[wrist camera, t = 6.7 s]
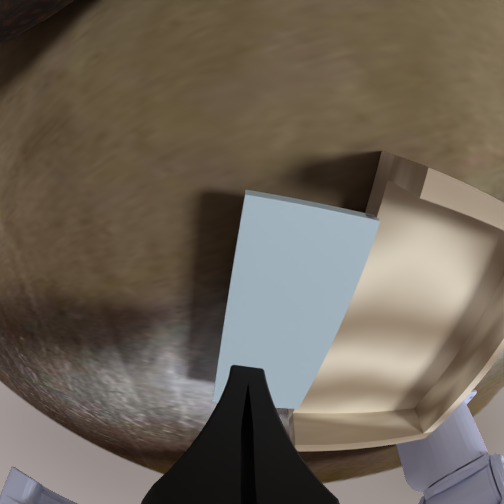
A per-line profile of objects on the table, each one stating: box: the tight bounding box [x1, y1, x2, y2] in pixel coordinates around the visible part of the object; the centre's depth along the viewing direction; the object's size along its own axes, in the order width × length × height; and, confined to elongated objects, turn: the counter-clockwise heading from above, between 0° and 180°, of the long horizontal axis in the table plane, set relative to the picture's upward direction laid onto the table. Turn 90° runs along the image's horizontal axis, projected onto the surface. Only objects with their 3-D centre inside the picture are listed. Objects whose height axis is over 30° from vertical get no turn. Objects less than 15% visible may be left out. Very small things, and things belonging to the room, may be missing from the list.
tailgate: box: [213, 190, 380, 409], centre depth 15 cm, size 14×1×6 cm
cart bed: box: [288, 151, 504, 451], centre depth 15 cm, size 20×13×4 cm, turn 170°
